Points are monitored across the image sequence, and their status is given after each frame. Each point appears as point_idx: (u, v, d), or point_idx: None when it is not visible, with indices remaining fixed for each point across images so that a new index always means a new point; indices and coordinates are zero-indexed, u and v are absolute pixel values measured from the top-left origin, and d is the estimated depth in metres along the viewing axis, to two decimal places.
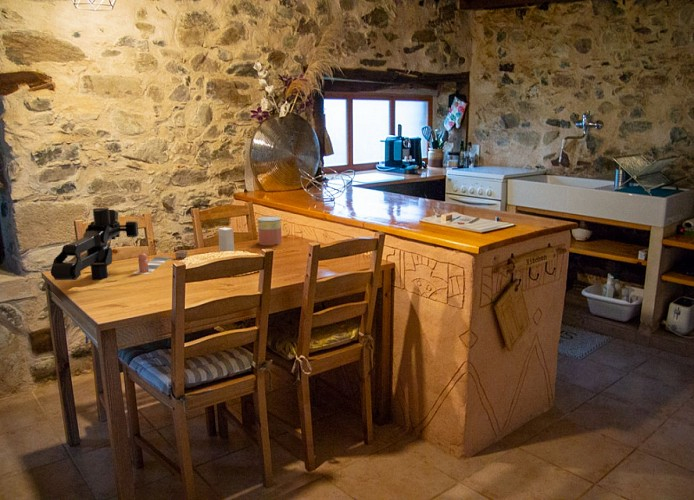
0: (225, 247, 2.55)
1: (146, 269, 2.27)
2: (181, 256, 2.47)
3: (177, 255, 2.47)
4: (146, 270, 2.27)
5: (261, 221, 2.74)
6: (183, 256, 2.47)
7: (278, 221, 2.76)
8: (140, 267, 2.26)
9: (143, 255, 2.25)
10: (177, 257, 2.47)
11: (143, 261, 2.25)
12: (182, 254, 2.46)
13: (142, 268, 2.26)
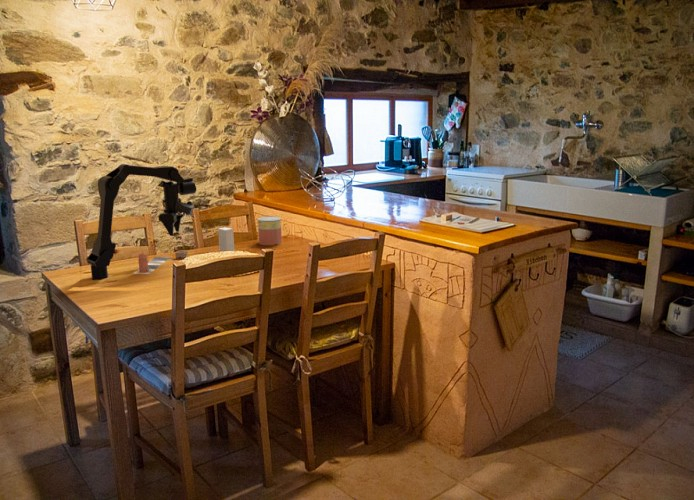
0: (225, 247, 2.55)
1: (146, 269, 2.27)
2: (181, 256, 2.47)
3: (177, 255, 2.47)
4: (146, 270, 2.27)
5: (261, 221, 2.74)
6: (183, 256, 2.47)
7: (278, 221, 2.76)
8: (140, 267, 2.26)
9: (143, 255, 2.25)
10: (177, 257, 2.47)
11: (143, 261, 2.25)
12: (182, 254, 2.46)
13: (142, 268, 2.26)
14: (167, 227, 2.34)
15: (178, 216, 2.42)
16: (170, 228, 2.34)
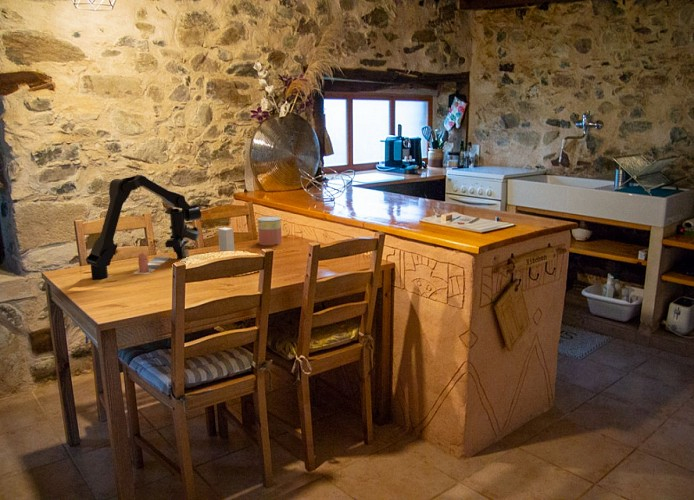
0: (225, 247, 2.55)
1: (146, 269, 2.27)
2: None
3: None
4: (146, 270, 2.27)
5: (261, 221, 2.74)
6: (184, 255, 2.48)
7: (278, 221, 2.76)
8: (140, 267, 2.26)
9: (143, 255, 2.25)
10: None
11: (143, 261, 2.25)
12: (183, 253, 2.48)
13: (142, 268, 2.26)
14: (176, 250, 2.45)
15: None
16: (179, 251, 2.45)
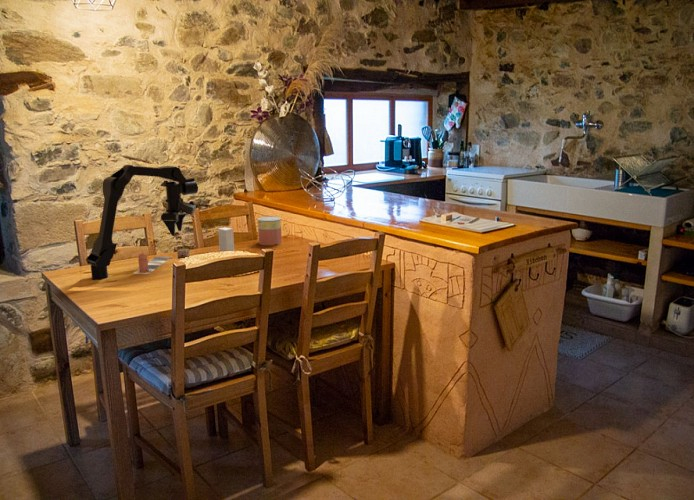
0: (225, 247, 2.55)
1: (146, 269, 2.27)
2: (183, 254, 2.50)
3: (179, 253, 2.50)
4: (146, 270, 2.27)
5: (261, 221, 2.74)
6: (185, 254, 2.50)
7: (278, 221, 2.76)
8: (140, 267, 2.26)
9: (143, 255, 2.25)
10: (179, 256, 2.50)
11: (143, 261, 2.25)
12: (184, 252, 2.50)
13: (142, 268, 2.26)
14: (169, 227, 2.36)
15: (181, 215, 2.45)
16: (172, 228, 2.36)
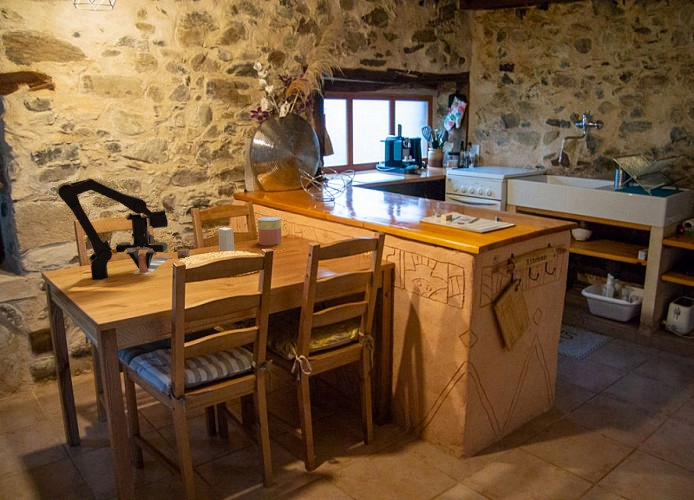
0: (225, 247, 2.55)
1: (146, 269, 2.27)
2: (183, 254, 2.50)
3: (179, 253, 2.50)
4: (146, 270, 2.27)
5: (261, 221, 2.74)
6: (185, 254, 2.50)
7: (278, 221, 2.76)
8: (140, 267, 2.26)
9: (143, 255, 2.25)
10: (179, 256, 2.50)
11: (143, 261, 2.25)
12: (184, 252, 2.50)
13: (142, 268, 2.26)
14: (149, 259, 2.26)
15: (137, 252, 2.27)
16: (150, 260, 2.27)
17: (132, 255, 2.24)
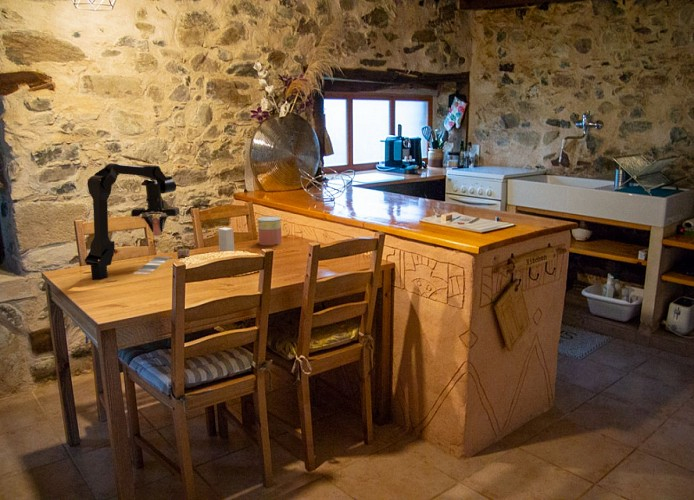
0: (225, 247, 2.55)
1: (160, 232, 2.42)
2: (183, 254, 2.50)
3: (179, 253, 2.50)
4: (160, 233, 2.42)
5: (261, 221, 2.74)
6: (185, 254, 2.50)
7: (278, 221, 2.76)
8: (154, 230, 2.41)
9: (157, 219, 2.40)
10: (179, 256, 2.50)
11: (157, 225, 2.40)
12: (184, 252, 2.50)
13: (156, 232, 2.41)
14: (163, 223, 2.40)
15: (151, 216, 2.42)
16: (163, 223, 2.42)
17: (146, 219, 2.39)
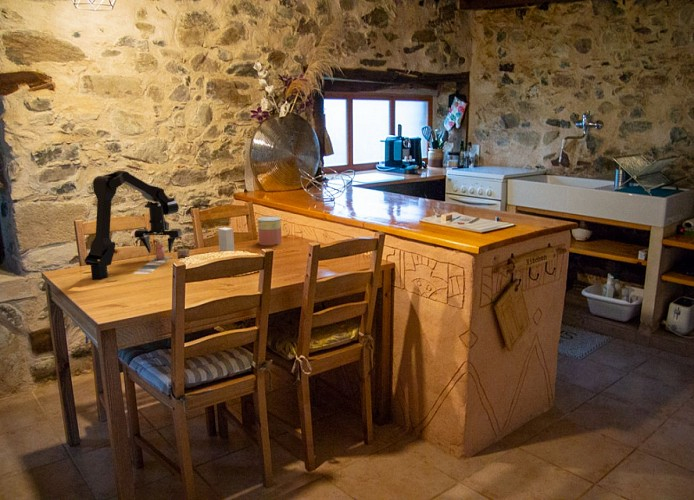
0: (225, 247, 2.55)
1: (162, 257, 2.46)
2: (183, 254, 2.50)
3: (179, 253, 2.50)
4: (162, 258, 2.46)
5: (261, 221, 2.74)
6: (185, 254, 2.50)
7: (278, 221, 2.76)
8: (157, 255, 2.45)
9: (160, 244, 2.44)
10: (179, 256, 2.50)
11: (160, 249, 2.44)
12: (184, 252, 2.50)
13: (159, 256, 2.45)
14: (171, 244, 2.44)
15: (148, 237, 2.46)
16: (172, 245, 2.45)
17: (143, 240, 2.42)
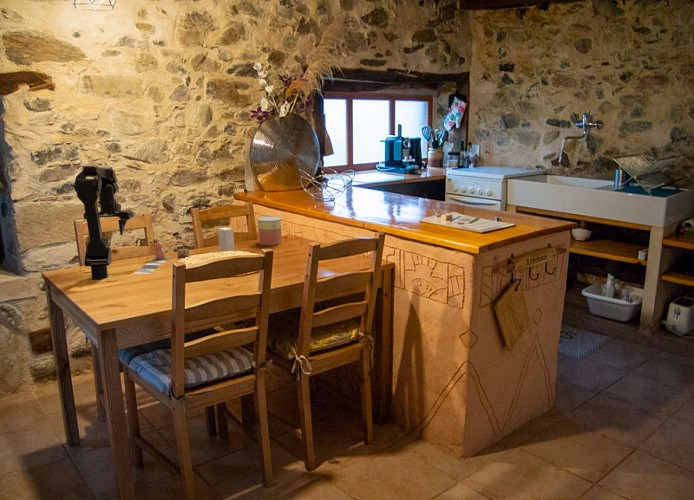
0: (225, 247, 2.55)
1: (162, 257, 2.46)
2: (183, 254, 2.50)
3: (179, 253, 2.50)
4: (162, 257, 2.46)
5: (261, 221, 2.74)
6: (185, 254, 2.50)
7: (278, 221, 2.76)
8: (157, 255, 2.45)
9: (159, 244, 2.44)
10: (179, 256, 2.50)
11: (160, 249, 2.44)
12: (184, 252, 2.50)
13: (159, 256, 2.45)
14: (122, 226, 2.37)
15: None
16: (123, 227, 2.38)
17: None
